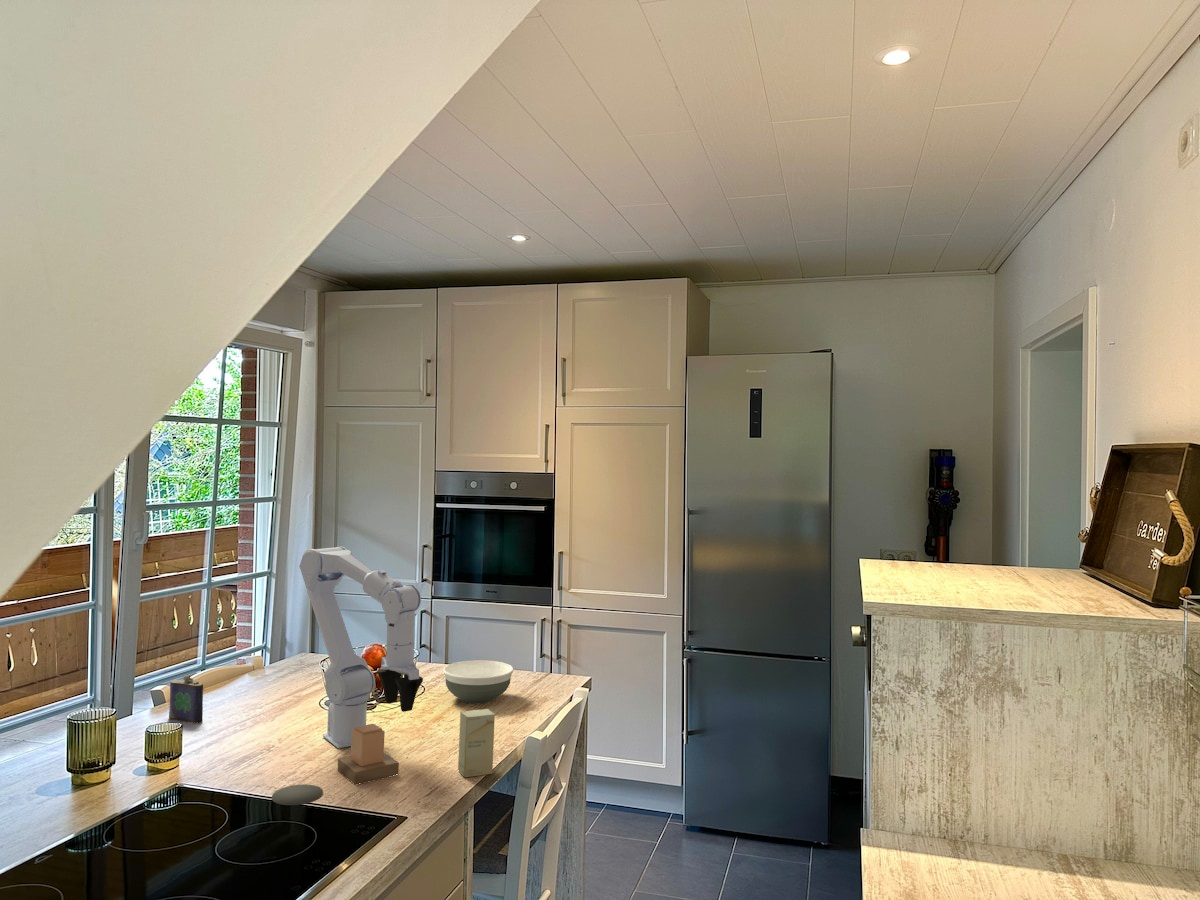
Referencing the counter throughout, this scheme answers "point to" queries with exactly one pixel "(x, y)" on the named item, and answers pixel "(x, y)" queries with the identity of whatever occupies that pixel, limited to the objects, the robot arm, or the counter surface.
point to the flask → (186, 700)
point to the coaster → (297, 794)
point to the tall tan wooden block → (367, 744)
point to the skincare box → (476, 742)
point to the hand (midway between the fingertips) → (398, 706)
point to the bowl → (477, 680)
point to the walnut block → (367, 769)
